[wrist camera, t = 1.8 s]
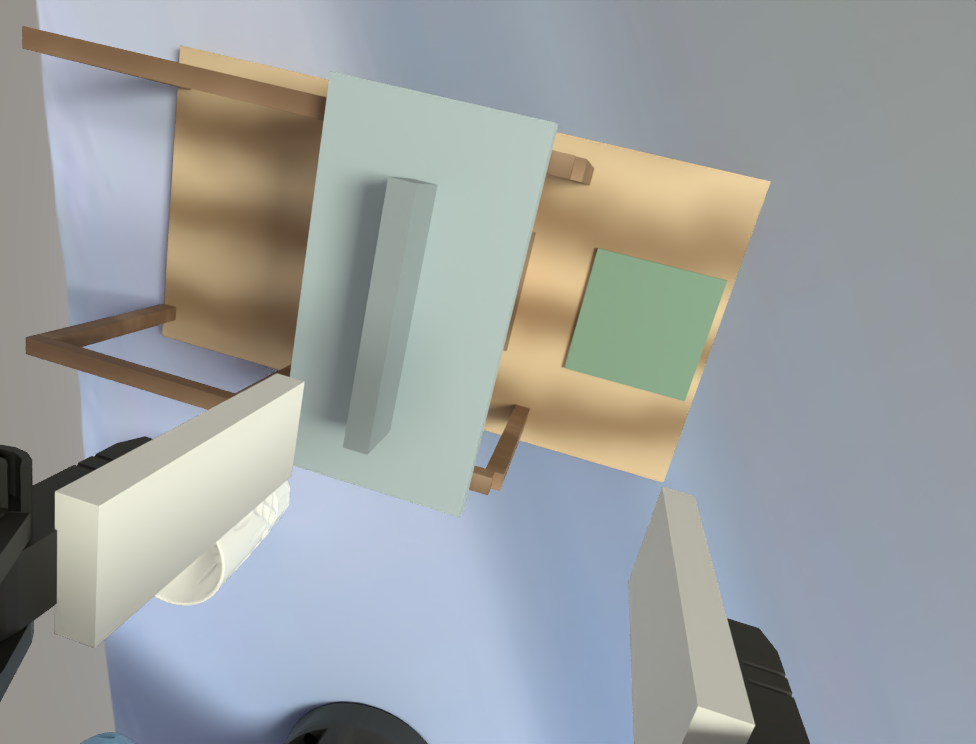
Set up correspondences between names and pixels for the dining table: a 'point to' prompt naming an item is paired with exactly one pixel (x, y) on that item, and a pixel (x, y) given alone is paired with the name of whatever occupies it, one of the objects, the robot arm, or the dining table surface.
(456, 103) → the lid
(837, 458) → the dining table surface
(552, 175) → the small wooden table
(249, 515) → the white cup
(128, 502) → the robot arm
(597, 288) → the felt pad
